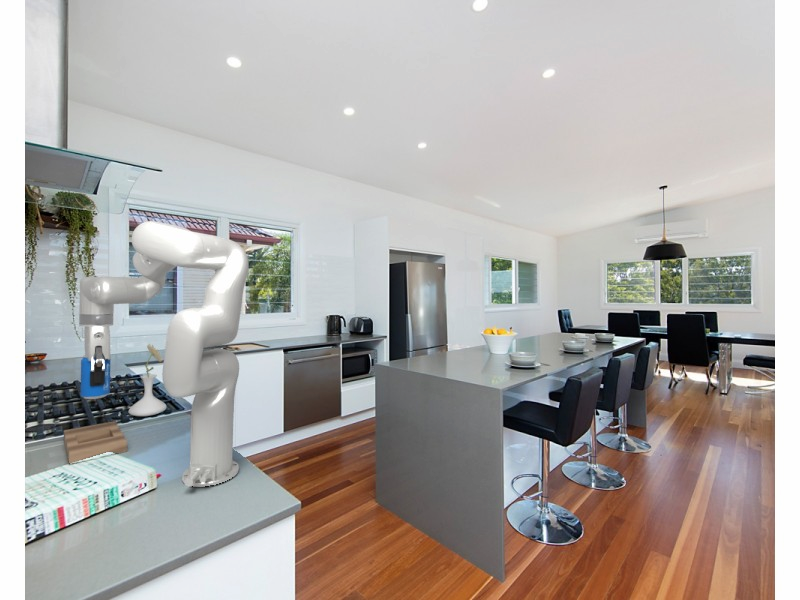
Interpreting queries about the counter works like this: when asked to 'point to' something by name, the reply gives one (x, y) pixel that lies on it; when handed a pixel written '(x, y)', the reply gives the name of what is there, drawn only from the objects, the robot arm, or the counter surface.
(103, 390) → the beverage can
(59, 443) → the counter surface
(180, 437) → the counter surface
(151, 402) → the flower in vase
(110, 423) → the block
